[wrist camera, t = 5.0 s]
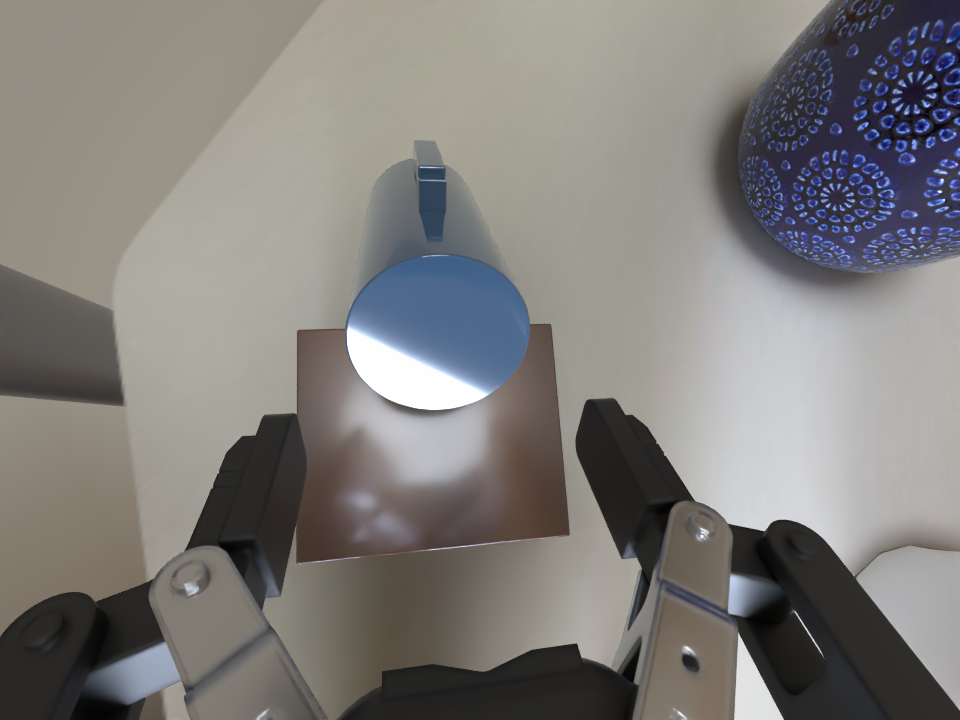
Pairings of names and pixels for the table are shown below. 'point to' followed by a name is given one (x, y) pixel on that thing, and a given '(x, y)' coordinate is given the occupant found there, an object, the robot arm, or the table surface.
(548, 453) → the brown block
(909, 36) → the planter
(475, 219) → the jug
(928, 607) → the vase
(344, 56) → the table surface
